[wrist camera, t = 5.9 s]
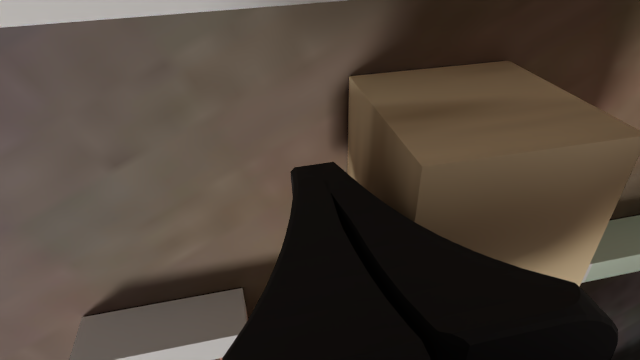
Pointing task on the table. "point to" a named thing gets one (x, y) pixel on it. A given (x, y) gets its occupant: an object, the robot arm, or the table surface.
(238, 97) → the table surface
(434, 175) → the oak block
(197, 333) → the cross-shaped barrier wall
